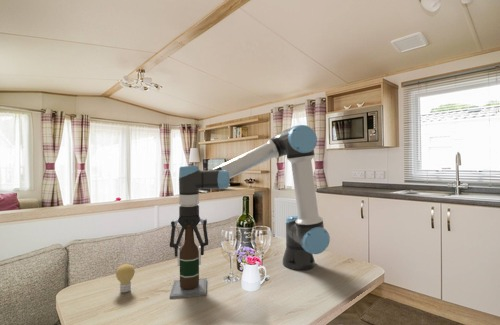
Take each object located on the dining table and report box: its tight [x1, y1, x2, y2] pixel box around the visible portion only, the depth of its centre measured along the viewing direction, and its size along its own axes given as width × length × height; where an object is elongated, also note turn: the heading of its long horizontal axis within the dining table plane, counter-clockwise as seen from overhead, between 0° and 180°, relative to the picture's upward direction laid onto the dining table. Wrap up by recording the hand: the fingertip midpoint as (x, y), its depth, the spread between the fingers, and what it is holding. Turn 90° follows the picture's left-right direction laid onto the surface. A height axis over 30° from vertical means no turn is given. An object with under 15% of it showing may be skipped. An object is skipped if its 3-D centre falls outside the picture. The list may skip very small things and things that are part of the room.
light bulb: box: [115, 263, 136, 294], centre depth 100 cm, size 6×6×10 cm
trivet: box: [169, 277, 208, 299], centre depth 102 cm, size 13×13×1 cm
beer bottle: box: [179, 224, 200, 289], centre depth 102 cm, size 8×8×24 cm
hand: (189, 263), depth 102 cm, fingers closed on beer bottle, 7 cm apart
